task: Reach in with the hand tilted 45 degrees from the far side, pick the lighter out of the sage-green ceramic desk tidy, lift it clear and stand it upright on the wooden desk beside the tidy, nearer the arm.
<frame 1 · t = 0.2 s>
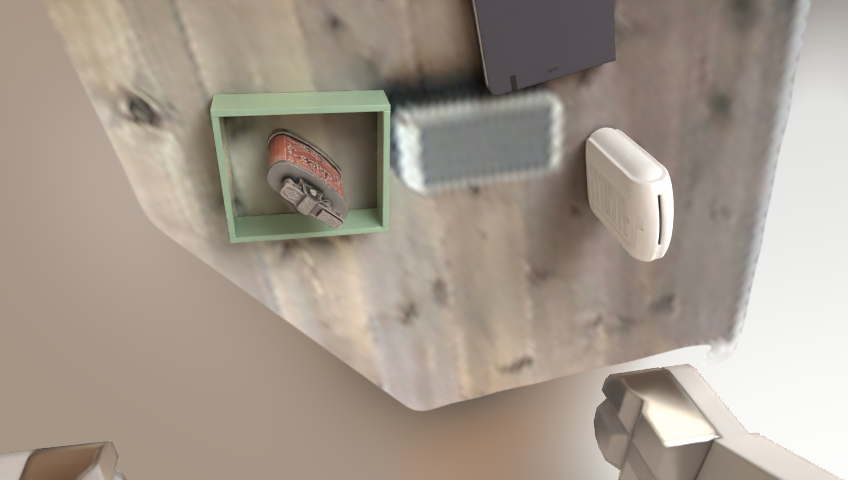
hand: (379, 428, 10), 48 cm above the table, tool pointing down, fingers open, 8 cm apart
desk tidy: (305, 158, 58), on the table
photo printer: (601, 168, 67), on the table
lighter: (305, 157, 59), resting in desk tidy
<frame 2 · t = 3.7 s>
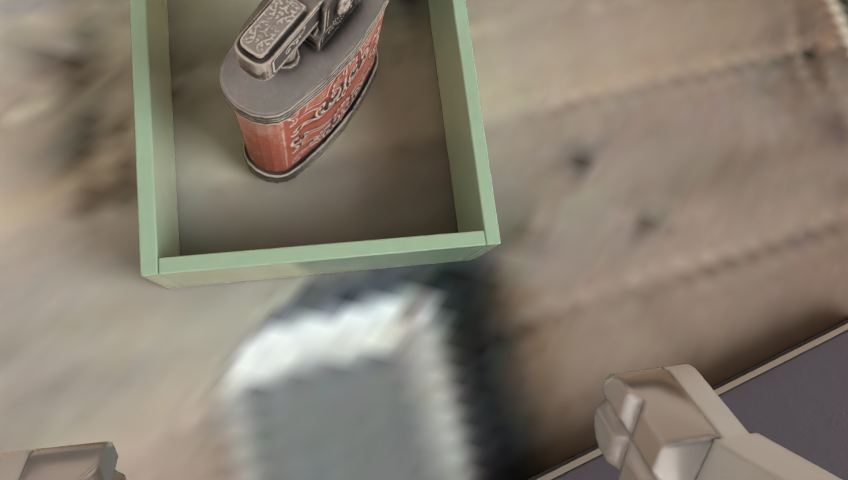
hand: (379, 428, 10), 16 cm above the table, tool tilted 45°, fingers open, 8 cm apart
desk tidy: (312, 108, 27), on the table
lighter: (312, 110, 28), resting in desk tidy
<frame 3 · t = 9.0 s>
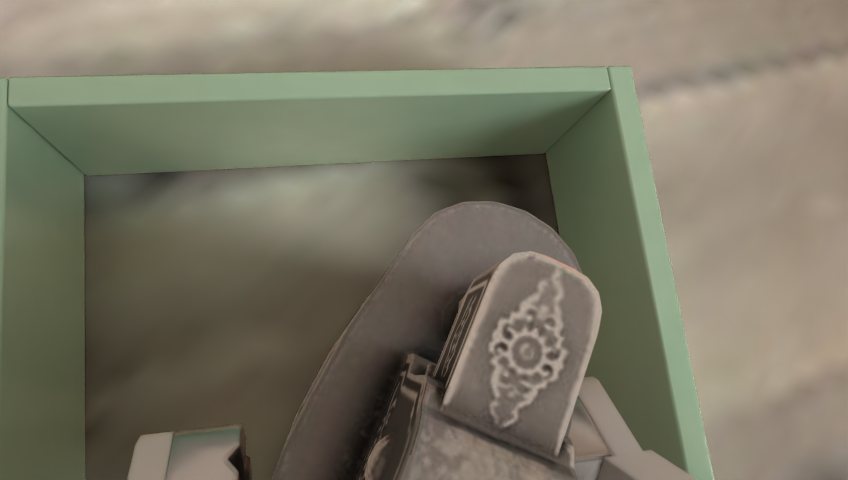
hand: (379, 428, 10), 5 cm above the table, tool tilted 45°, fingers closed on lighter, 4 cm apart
desk tidy: (357, 439, 15), on the table
lighter: (361, 438, 15), resting in desk tidy, touching gripper
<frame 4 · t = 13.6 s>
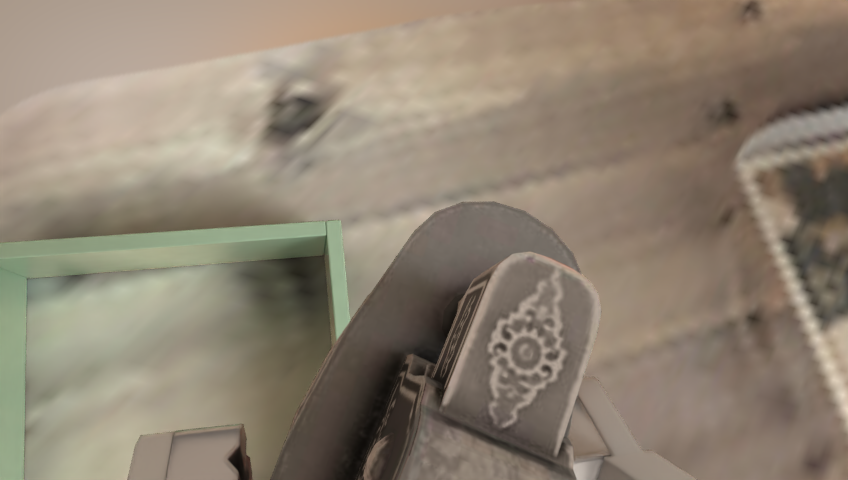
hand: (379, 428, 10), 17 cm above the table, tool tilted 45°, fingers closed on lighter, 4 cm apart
desk tidy: (189, 435, 25), on the table
lighter: (360, 439, 15), point 12 cm above the table, touching gripper
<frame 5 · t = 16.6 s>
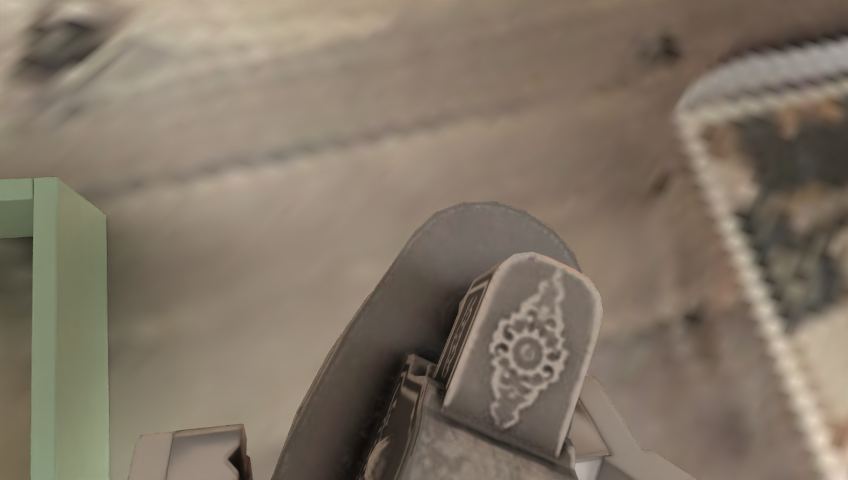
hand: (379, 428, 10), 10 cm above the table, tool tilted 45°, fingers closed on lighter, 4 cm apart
lighter: (361, 439, 15), point 6 cm above the table, touching gripper
when the fingers open (4 cm above the table, at t = 18.7 s): lighter stays where it is, on the table.
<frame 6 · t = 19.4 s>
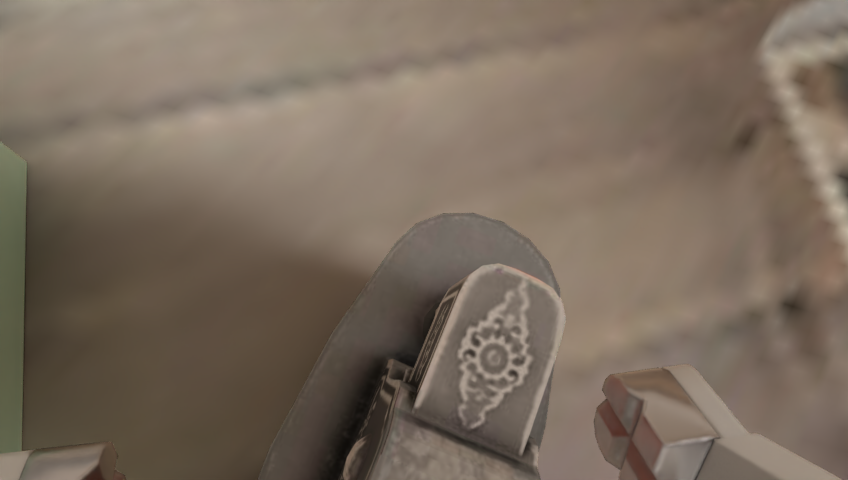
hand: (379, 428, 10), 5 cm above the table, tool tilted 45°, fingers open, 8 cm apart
lighter: (353, 440, 15), on the table
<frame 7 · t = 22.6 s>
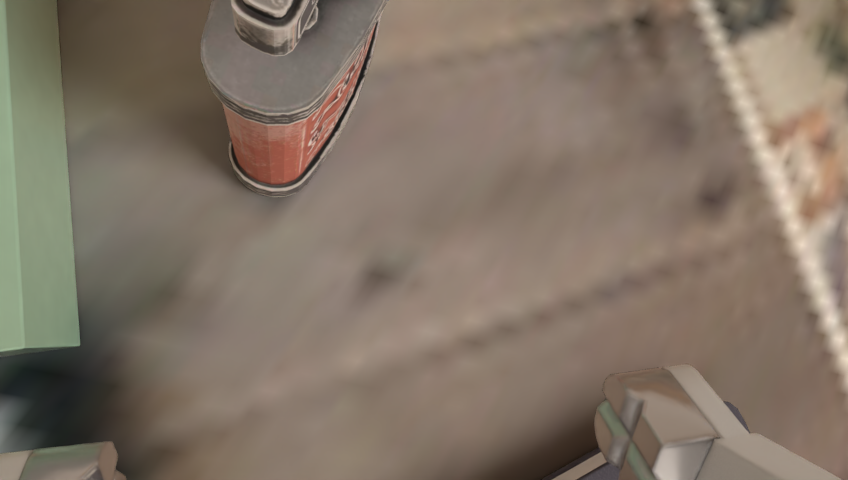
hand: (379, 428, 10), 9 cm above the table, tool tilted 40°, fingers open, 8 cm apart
lighter: (307, 88, 20), on the table
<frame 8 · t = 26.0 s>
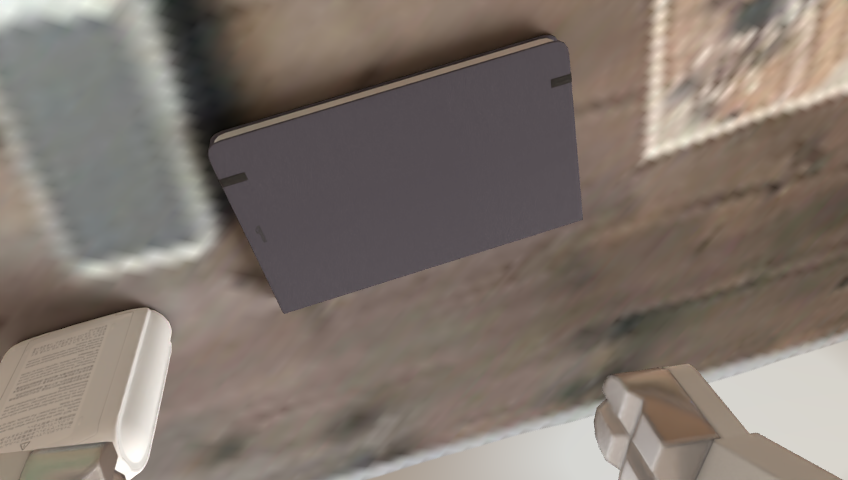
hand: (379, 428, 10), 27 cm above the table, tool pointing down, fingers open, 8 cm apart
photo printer: (94, 340, 40), on the table
notebook: (408, 174, 39), on the table
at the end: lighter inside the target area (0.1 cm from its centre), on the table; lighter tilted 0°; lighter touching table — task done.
